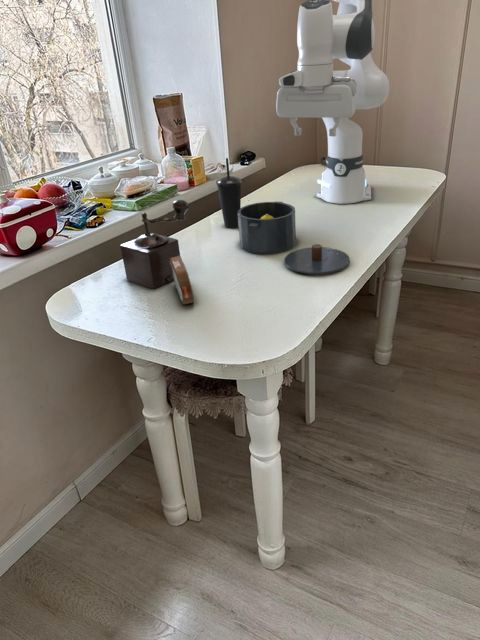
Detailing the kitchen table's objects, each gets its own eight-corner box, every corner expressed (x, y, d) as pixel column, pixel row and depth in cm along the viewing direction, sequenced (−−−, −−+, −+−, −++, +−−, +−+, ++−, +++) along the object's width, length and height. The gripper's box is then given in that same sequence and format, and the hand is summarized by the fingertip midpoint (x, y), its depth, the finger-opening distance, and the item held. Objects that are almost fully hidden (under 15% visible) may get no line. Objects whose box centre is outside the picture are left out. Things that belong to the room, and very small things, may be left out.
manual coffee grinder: (155, 290, 128) (142, 217, 119) (125, 280, 134) (111, 209, 125) (200, 268, 139) (191, 198, 129) (170, 259, 145) (160, 192, 135)
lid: (275, 272, 134) (275, 255, 131) (295, 248, 147) (295, 232, 144) (341, 279, 128) (341, 261, 126) (355, 253, 141) (356, 237, 139)
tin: (196, 308, 119) (191, 274, 115) (182, 311, 119) (176, 276, 114) (184, 282, 132) (180, 249, 127) (172, 284, 131) (167, 251, 126)
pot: (227, 255, 145) (224, 221, 140) (255, 229, 162) (253, 197, 157) (282, 260, 140) (281, 225, 135) (305, 232, 157) (304, 200, 152)
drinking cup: (230, 220, 170) (224, 154, 159) (249, 223, 166) (245, 156, 155) (215, 227, 165) (208, 160, 154) (234, 231, 161) (229, 162, 150)
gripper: (359, 74, 133) (356, 133, 140) (281, 76, 139) (282, 132, 146) (353, 77, 128) (351, 138, 135) (273, 79, 134) (275, 137, 141)
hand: (315, 135), depth 141 cm, fingers open, 8 cm apart
